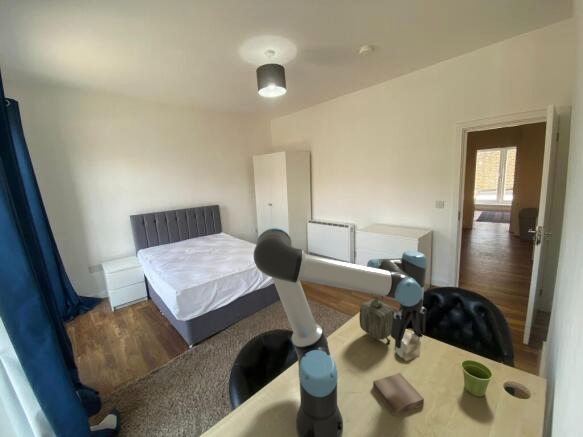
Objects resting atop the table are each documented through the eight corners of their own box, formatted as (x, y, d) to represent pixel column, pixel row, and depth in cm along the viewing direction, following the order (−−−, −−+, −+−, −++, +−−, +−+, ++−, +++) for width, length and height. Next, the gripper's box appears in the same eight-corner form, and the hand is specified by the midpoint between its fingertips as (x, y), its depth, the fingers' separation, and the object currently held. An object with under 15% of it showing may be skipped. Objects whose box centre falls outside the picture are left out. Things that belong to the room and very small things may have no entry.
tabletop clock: (394, 343, 118) (396, 294, 113) (382, 351, 113) (383, 300, 108) (369, 328, 130) (370, 283, 125) (357, 335, 125) (357, 288, 120)
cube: (405, 360, 89) (407, 346, 88) (394, 349, 95) (395, 335, 94) (419, 357, 91) (420, 342, 90) (407, 346, 96) (408, 332, 95)
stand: (394, 415, 84) (394, 409, 83) (373, 386, 95) (373, 381, 94) (423, 404, 87) (423, 398, 86) (399, 378, 98) (399, 372, 98)
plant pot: (463, 397, 89) (465, 376, 88) (456, 376, 98) (457, 357, 96) (494, 404, 86) (497, 382, 84) (484, 382, 95) (487, 362, 93)
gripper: (396, 304, 82) (392, 366, 86) (441, 295, 88) (434, 353, 92) (381, 294, 89) (378, 351, 93) (423, 286, 95) (418, 340, 99)
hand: (406, 352), depth 93 cm, fingers closed on cube, 6 cm apart
